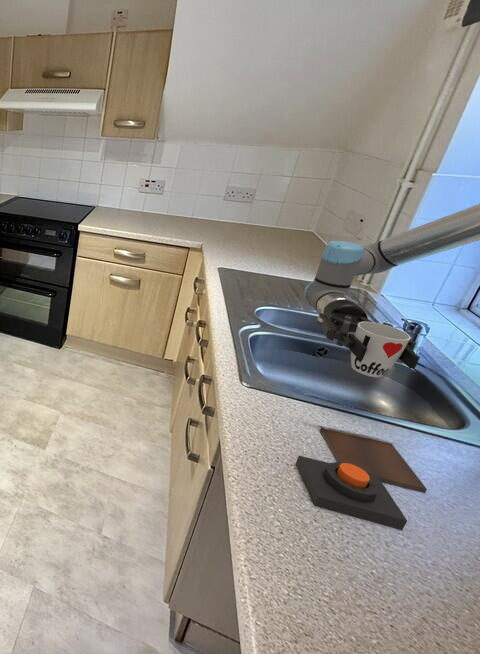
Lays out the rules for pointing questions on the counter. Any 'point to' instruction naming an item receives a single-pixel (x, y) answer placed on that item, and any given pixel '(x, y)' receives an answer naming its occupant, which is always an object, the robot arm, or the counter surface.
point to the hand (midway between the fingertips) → (388, 358)
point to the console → (349, 494)
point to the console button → (353, 475)
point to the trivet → (373, 458)
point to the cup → (378, 348)
